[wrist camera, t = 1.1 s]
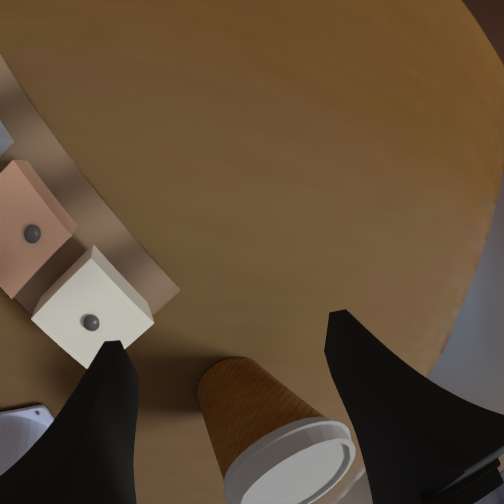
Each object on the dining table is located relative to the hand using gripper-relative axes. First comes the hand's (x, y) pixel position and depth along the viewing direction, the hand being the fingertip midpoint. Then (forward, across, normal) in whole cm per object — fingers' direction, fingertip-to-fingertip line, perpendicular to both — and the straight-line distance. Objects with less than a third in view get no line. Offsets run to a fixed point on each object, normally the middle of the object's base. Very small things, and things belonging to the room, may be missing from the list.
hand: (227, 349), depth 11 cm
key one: (+8, +8, +3) cm, 12 cm away
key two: (+8, +11, -3) cm, 14 cm away
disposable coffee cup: (+10, +1, +16) cm, 18 cm away
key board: (+10, +12, -2) cm, 16 cm away
